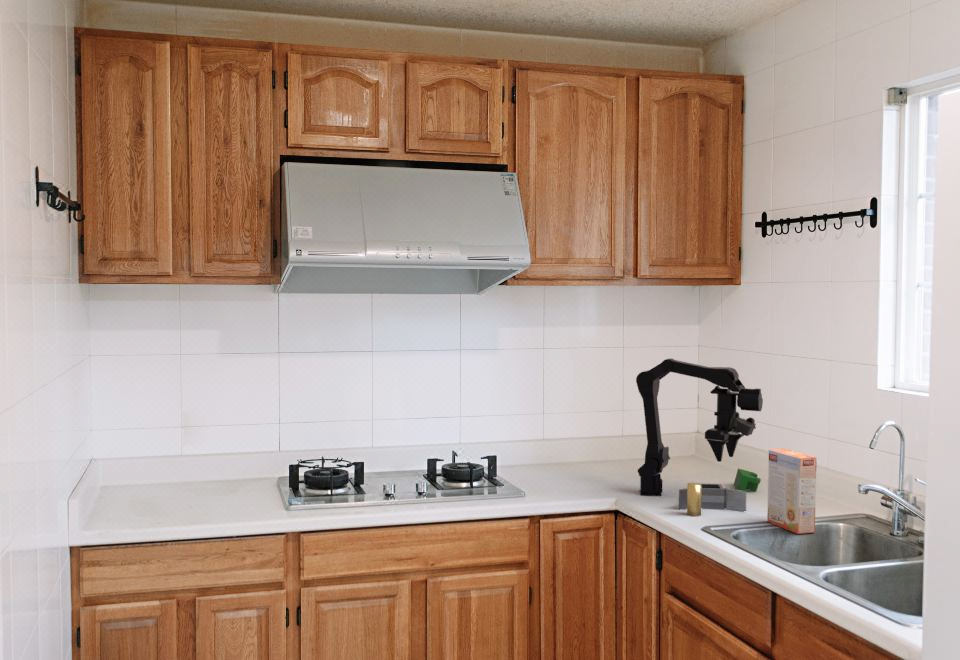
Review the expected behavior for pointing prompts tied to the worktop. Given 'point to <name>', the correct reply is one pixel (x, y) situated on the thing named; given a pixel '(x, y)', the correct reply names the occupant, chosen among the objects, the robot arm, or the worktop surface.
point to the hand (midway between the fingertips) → (725, 459)
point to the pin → (694, 499)
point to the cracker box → (792, 490)
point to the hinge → (717, 498)
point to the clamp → (746, 480)
